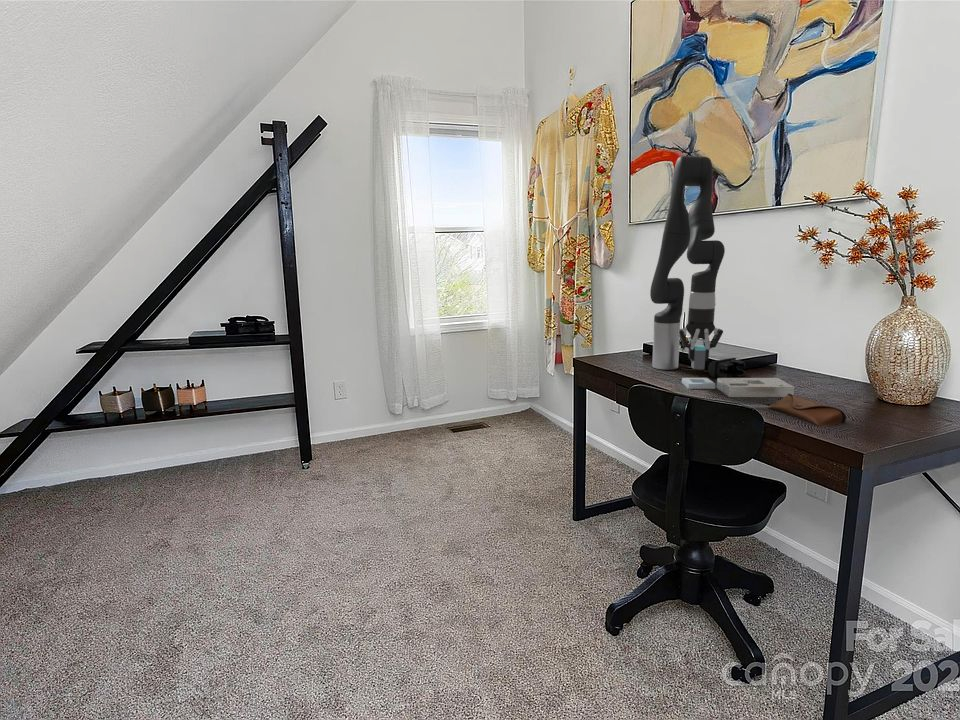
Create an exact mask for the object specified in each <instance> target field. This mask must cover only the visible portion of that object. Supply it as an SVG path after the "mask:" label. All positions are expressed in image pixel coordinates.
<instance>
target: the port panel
mask: <svg viewBox="0 0 960 720" xmlns="http://www.w3.org/2000/svg"><path fill="white" fill-rule="evenodd" d="M716 378H717V379H716V388H717V389H718V390H719V391H721V392H722V393H723V394H724V395H726V396H728V397H729V398H784V397H785V396H787V395H788V393H789V394H792V395H794V393H795V386H794V385H791V384H789V383H788V382H786V381H784V380H782V379H781V378H779V377H732V378H720V377H716ZM794 396H795V395H794Z"/></svg>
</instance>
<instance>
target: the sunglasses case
mask: <svg viewBox="0 0 960 720" xmlns="http://www.w3.org/2000/svg"><path fill="white" fill-rule="evenodd" d="M766 408H767V409H769V410H772V411H776V412H779V413H783V414H786V415H787V416H791V417H794V418H797V419H799V420H803V421H805V422H808V423H809V424H810V423H811V424H813V425H815V426H818V427H822V426H823V427H824V426H830V425H831V426H832V425H836V424H837V425H838V424H845V422H846V419H847V417H846V416H847V415H846V414H845V412H844V411H843V410H841V409H840V408H837V407H834V406H829V405H824V404H822V403H819V402H816V401H812V400H811V399H806V398H802V397H800V396H797V395H792V394H789V393H788V395H787V396H785V397H784V398H783V397H781V399H779V400H777V401H776V402H774V403H773V404H771V405H770V406H767V407H766Z"/></svg>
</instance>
